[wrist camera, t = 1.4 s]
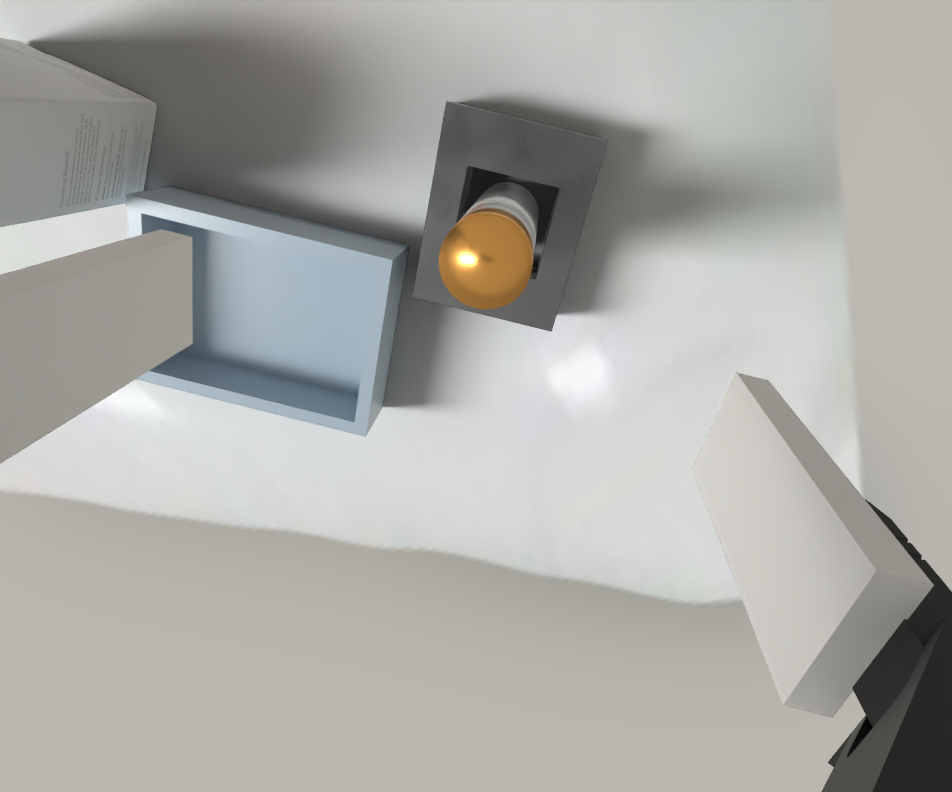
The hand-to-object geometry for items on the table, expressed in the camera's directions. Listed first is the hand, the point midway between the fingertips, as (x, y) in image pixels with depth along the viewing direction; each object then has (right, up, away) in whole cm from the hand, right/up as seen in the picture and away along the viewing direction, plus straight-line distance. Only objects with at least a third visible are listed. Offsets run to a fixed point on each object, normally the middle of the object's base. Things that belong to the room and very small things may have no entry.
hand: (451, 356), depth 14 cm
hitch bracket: (+2, +9, +19) cm, 21 cm away
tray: (-12, +5, +23) cm, 26 cm away
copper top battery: (+2, +9, +19) cm, 21 cm away
